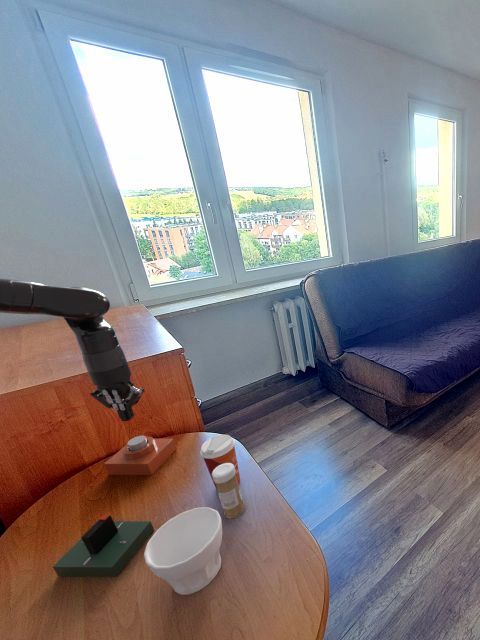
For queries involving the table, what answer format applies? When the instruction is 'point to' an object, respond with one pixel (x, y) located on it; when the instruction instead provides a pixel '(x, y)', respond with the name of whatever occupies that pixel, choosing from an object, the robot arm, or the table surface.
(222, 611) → the table surface
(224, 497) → the sprinkles bottle
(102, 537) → the dial knob
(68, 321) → the robot arm
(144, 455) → the domed button plate
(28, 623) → the table surface
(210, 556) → the cup
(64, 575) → the dial panel
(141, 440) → the grey push button
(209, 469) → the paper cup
